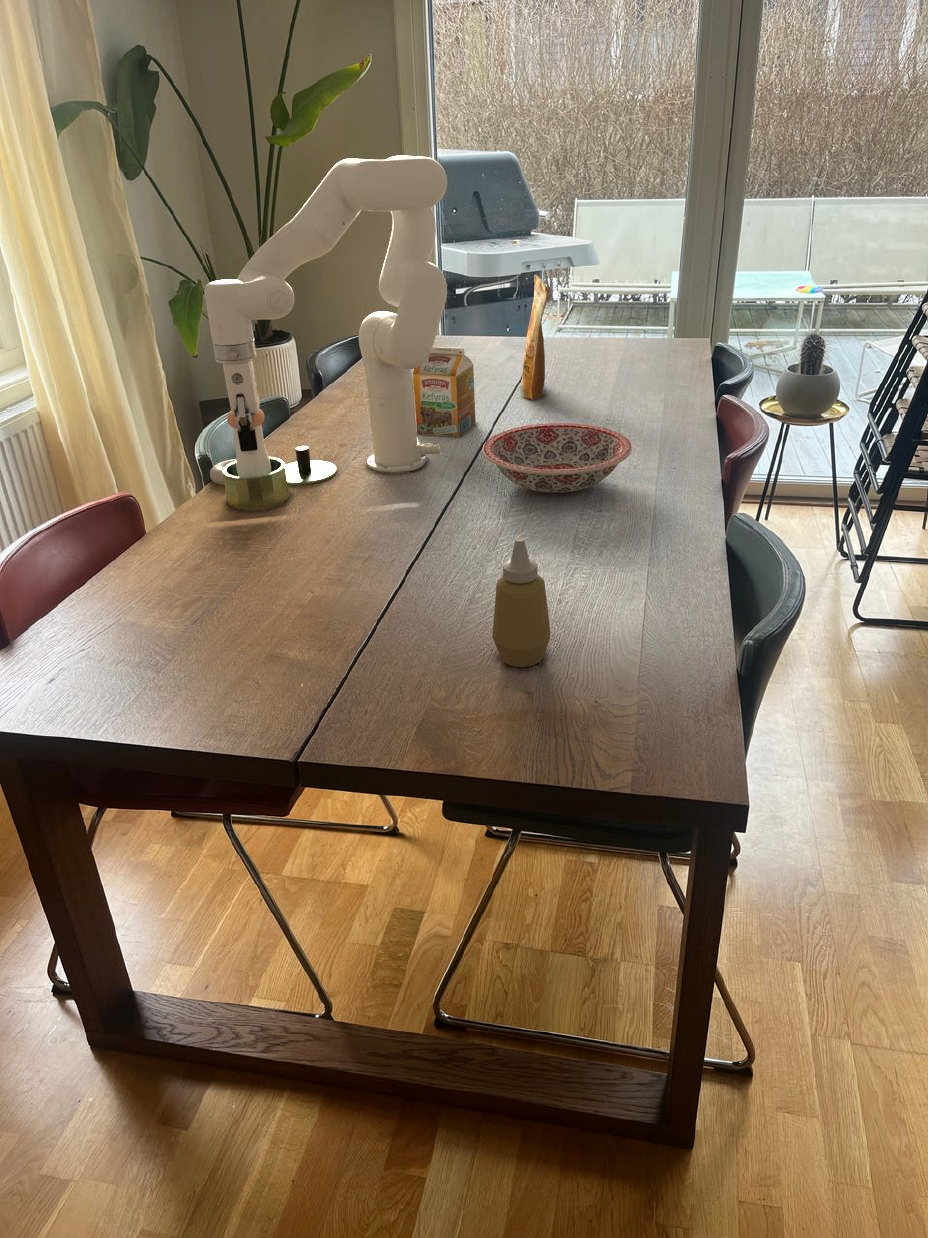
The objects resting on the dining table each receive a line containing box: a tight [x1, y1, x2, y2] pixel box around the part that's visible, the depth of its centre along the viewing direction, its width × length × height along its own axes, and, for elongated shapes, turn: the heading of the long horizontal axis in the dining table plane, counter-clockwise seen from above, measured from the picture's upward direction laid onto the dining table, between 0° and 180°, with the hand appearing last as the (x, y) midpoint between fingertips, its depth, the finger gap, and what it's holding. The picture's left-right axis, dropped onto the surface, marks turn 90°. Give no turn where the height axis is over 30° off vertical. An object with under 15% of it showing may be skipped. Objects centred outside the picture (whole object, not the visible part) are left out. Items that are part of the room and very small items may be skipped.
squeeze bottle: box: [491, 537, 551, 668], centre depth 129 cm, size 8×8×18 cm
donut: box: [209, 458, 236, 486], centre depth 200 cm, size 10×4×10 cm
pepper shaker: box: [226, 407, 271, 477], centre depth 185 cm, size 7×7×19 cm
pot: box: [222, 456, 290, 510], centre depth 188 cm, size 12×12×7 cm
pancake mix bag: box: [521, 273, 550, 401], centre depth 242 cm, size 7×19×28 cm, turn 177°
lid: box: [285, 445, 337, 486], centre depth 199 cm, size 13×13×6 cm
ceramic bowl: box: [482, 422, 633, 494], centre depth 188 cm, size 29×29×8 cm
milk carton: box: [412, 346, 477, 438], centre depth 220 cm, size 11×11×19 cm
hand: (249, 443), depth 184 cm, fingers closed on pepper shaker, 6 cm apart
